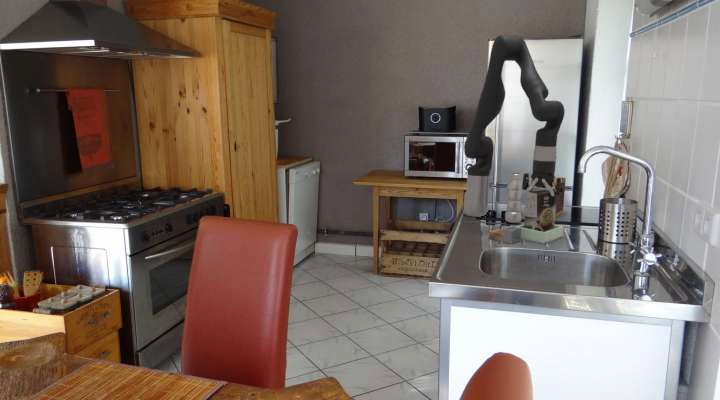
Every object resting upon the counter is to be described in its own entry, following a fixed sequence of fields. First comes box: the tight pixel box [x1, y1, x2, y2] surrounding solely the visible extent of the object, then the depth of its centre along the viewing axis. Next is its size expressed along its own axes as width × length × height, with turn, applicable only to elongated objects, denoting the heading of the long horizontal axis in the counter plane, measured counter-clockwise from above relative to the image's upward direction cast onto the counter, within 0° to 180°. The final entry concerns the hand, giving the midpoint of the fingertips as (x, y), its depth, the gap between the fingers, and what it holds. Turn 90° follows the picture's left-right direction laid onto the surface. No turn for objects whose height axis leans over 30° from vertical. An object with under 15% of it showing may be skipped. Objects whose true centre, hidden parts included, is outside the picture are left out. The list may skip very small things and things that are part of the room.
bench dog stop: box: [502, 226, 521, 245], centre depth 185 cm, size 3×6×4 cm, turn 134°
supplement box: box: [530, 176, 567, 218], centre depth 227 cm, size 10×15×16 cm
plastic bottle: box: [504, 172, 524, 224], centre depth 211 cm, size 6×7×20 cm
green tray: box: [515, 223, 564, 245], centre depth 191 cm, size 12×14×4 cm
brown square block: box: [488, 228, 505, 243], centre depth 189 cm, size 6×6×3 cm
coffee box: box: [523, 190, 557, 232], centre depth 189 cm, size 9×6×16 cm
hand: (540, 204), depth 189 cm, fingers open, 8 cm apart
